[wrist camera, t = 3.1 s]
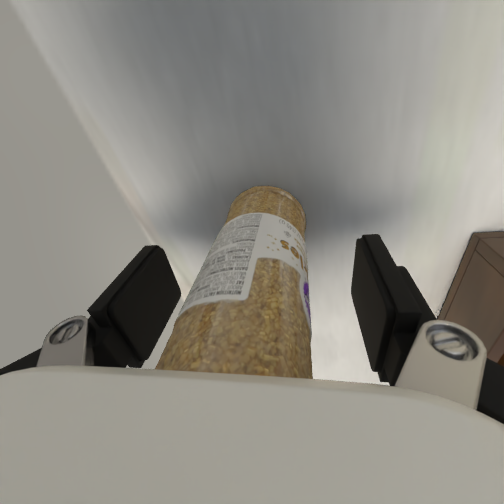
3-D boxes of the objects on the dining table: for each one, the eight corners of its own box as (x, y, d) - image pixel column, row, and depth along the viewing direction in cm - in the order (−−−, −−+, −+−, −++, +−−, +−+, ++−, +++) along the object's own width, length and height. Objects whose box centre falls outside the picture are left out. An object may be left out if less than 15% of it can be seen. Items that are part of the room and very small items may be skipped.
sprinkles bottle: (316, 238, 15) (382, 702, 4) (248, 259, 16) (158, 627, 5) (288, 167, 12) (256, 772, 2) (213, 200, 14) (-56, 612, 3)
